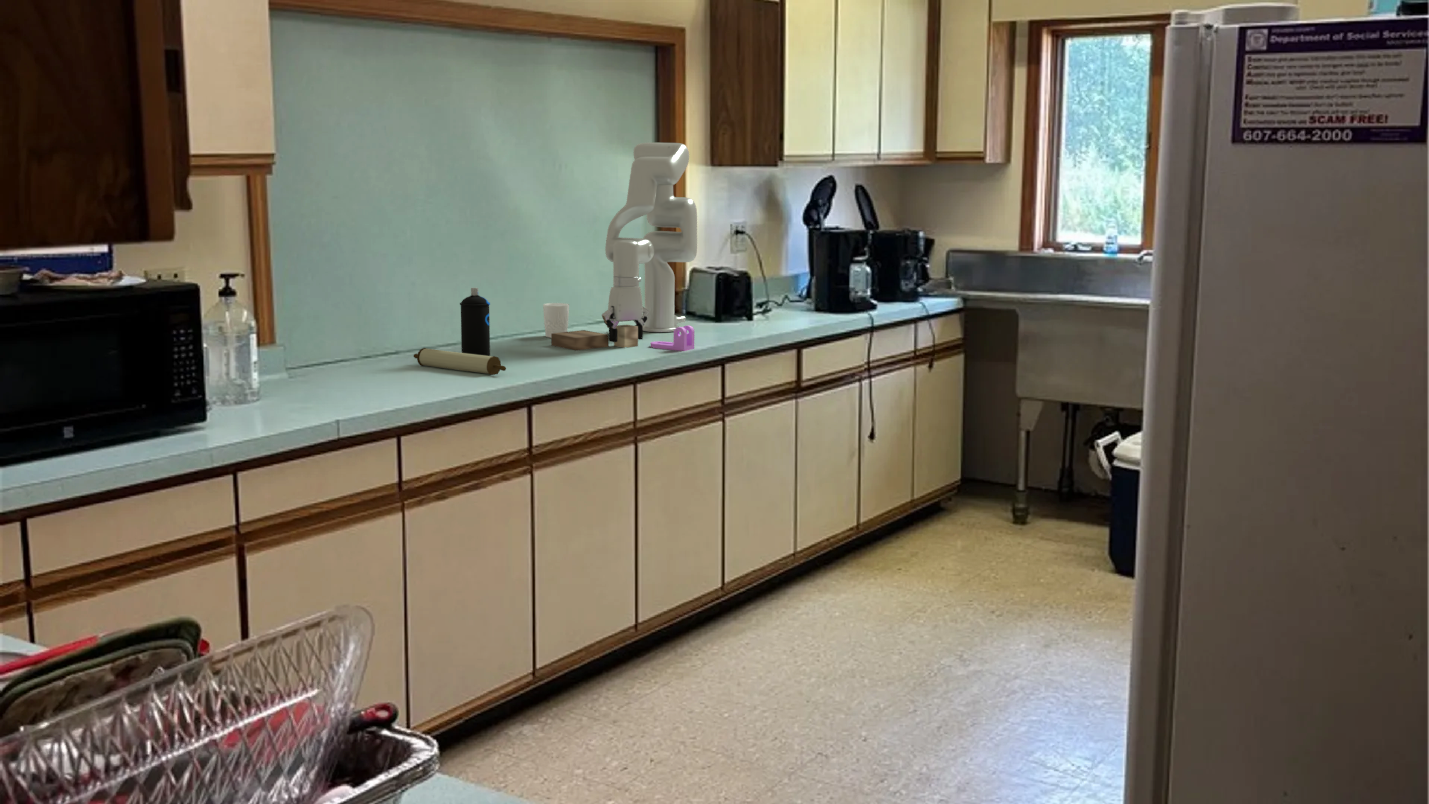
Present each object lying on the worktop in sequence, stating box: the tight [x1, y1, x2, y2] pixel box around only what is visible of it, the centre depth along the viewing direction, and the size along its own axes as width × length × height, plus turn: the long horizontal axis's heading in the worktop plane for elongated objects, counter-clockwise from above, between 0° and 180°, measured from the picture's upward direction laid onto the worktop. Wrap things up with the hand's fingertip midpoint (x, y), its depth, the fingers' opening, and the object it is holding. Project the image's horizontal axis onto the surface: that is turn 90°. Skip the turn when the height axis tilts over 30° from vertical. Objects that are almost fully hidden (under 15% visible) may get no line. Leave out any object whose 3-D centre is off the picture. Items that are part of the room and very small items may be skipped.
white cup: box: [542, 302, 570, 339], centre depth 423 cm, size 8×8×10 cm
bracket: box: [650, 325, 695, 352], centre depth 404 cm, size 13×6×7 cm, turn 59°
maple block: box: [613, 324, 639, 349], centre depth 407 cm, size 5×5×6 cm
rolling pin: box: [413, 347, 507, 376], centre depth 361 cm, size 32×6×5 cm, turn 58°
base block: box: [550, 329, 610, 351], centre depth 406 cm, size 12×12×4 cm
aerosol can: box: [459, 287, 491, 356], centre depth 375 cm, size 8×8×20 cm
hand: (625, 340), depth 407 cm, fingers open, 9 cm apart
